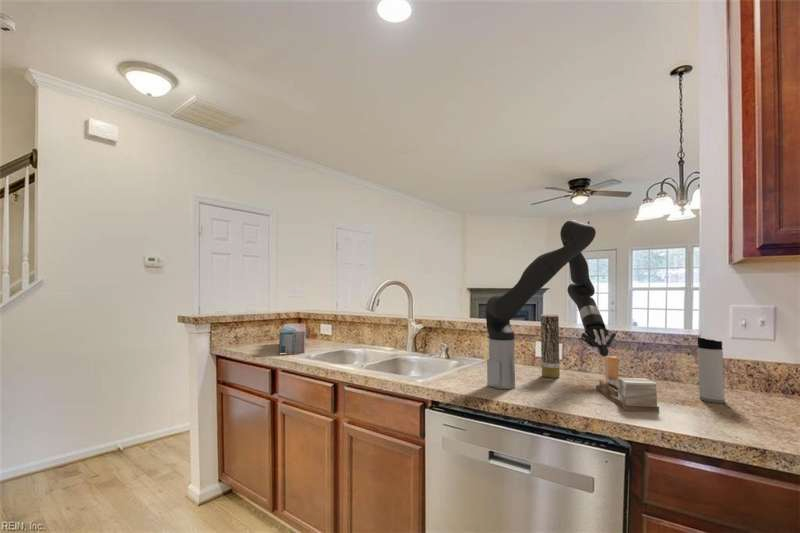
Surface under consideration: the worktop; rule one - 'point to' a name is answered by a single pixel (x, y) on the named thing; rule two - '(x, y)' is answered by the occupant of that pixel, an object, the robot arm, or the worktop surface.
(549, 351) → the bark textured post
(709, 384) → the travel mug
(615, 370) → the orange flat block
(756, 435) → the worktop surface
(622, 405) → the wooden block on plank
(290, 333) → the soda box
